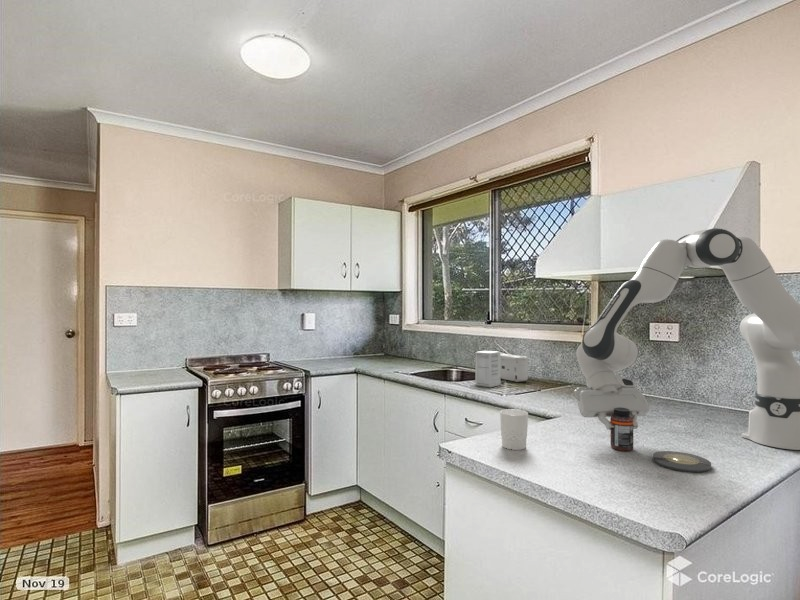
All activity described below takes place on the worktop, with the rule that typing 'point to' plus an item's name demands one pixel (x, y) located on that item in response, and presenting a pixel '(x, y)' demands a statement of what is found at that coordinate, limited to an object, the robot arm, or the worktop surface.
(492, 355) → the supplement box
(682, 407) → the worktop surface
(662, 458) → the grey flat disc
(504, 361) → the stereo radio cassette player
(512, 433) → the white cup
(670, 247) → the robot arm
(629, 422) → the supplement bottle
